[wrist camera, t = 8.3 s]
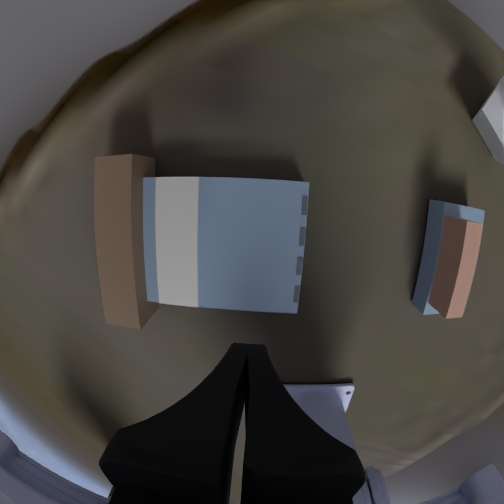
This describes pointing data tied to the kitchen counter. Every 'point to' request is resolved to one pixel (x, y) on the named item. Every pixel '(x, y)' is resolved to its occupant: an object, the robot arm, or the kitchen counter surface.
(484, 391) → the kitchen counter surface
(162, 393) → the kitchen counter surface
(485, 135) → the figurine
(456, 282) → the slab with raised block
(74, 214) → the kitchen counter surface
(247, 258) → the striped blue tabbed panel
